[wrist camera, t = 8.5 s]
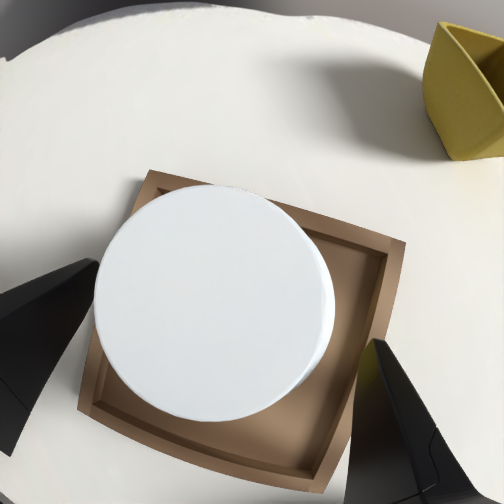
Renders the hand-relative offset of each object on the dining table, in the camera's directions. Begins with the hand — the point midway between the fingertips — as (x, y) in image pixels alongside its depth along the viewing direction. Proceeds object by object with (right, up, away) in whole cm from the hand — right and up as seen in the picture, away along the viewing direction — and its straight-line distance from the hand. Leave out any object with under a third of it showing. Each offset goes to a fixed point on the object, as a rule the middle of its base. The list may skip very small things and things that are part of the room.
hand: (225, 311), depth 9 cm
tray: (0, -3, +8) cm, 9 cm away
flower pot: (+18, +12, +11) cm, 24 cm away
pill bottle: (0, -1, +8) cm, 8 cm away
